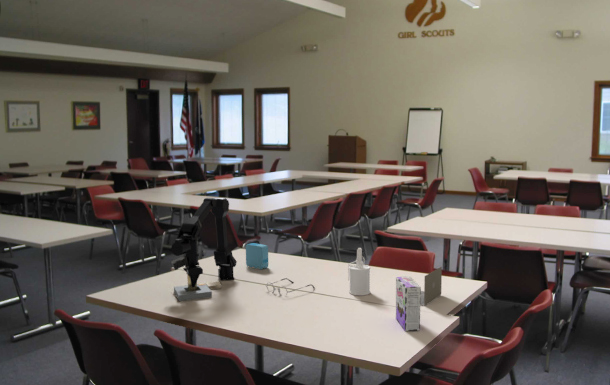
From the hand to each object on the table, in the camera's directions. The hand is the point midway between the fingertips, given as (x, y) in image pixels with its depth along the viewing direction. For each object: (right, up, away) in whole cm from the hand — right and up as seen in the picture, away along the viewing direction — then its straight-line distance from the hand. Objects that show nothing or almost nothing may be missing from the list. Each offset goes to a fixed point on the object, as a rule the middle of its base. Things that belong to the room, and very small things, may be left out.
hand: (192, 285), depth 247 cm
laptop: (+98, -5, -8) cm, 98 cm away
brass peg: (0, -2, 0) cm, 2 cm away
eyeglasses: (+43, -4, +6) cm, 43 cm away
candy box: (+87, -8, -39) cm, 96 cm away
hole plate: (0, -4, 0) cm, 4 cm away
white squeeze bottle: (+73, -3, +1) cm, 73 cm away
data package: (+24, +2, +47) cm, 53 cm away
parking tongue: (+7, -3, +12) cm, 14 cm away
